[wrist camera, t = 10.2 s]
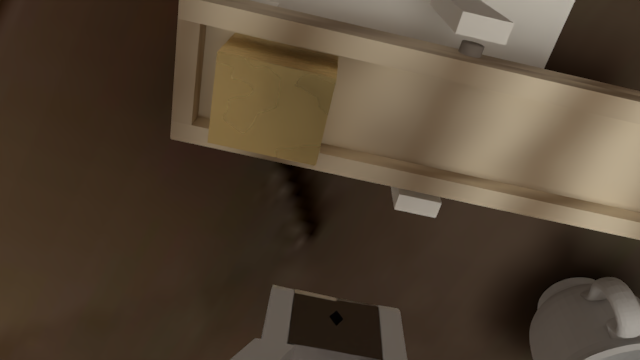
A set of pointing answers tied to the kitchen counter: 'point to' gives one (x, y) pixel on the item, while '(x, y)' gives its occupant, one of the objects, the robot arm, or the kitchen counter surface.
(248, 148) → the tan rectangular block
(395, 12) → the pivot stand
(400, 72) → the beam
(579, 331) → the teacup
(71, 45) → the kitchen counter surface
